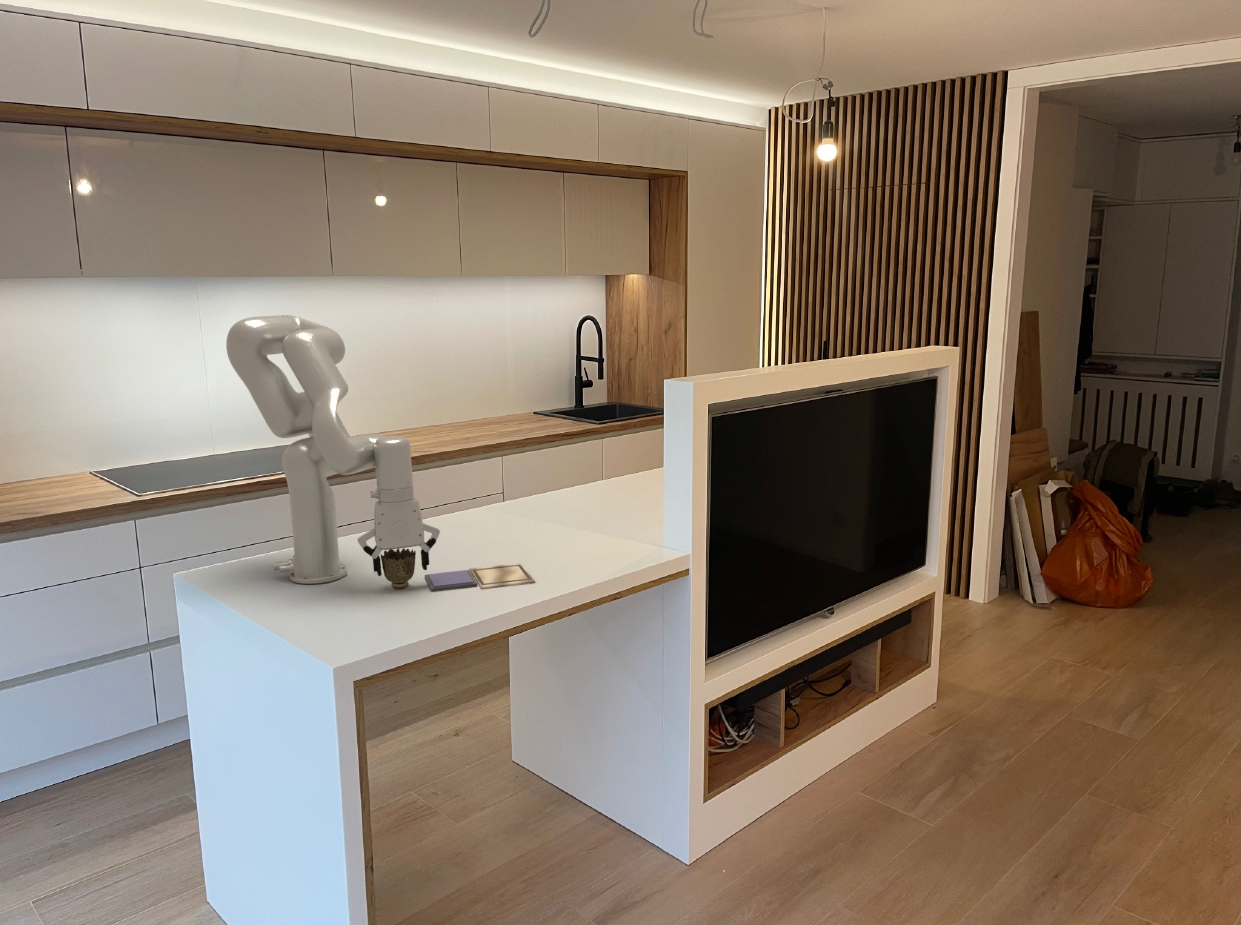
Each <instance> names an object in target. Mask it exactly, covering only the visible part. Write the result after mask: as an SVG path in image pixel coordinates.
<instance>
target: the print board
mask: <svg viewBox="0 0 1241 925" xmlns="http://www.w3.org/2000/svg"><path fill="white" fill-rule="evenodd" d="M468 570H469V571H470V573H471V574H472V576H473V578H474V579H475V581H476V582H477V585H478V586H479V587H480V589H481V590H485V589H484V588H487V589H493V588H503V586H504V587H512V586H519V585H520V586H521V585H528V584H527V583H530V584H536V580H535V579H534V578H533V576H532V575H531V574H530V573H529V571H528V570H527V569H526V568H525V567H524V565H523V564H522V563H521V562H517V563H516V562H515V563H507V564H500V565H490V566H489V565H488V566H481V567H472V568H468Z"/></svg>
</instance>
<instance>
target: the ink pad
mask: <svg viewBox="0 0 1241 925" xmlns="http://www.w3.org/2000/svg"><path fill="white" fill-rule="evenodd" d="M424 579H425V581H426V584H427V586H428V589H429V590H430V593H433V592H441V591H442V592H443V591H449V590H450V591H451V590H459V589H467V588H477V587H478V583H477V581H476V580H475V578H474V577H473V575H472V573H471V572H470V570H469V569H463V570H455V571H454V570H453V571H446V572H445V571H443V572H437V573H429V574H428V573H427V574H424ZM476 586H477V587H476Z"/></svg>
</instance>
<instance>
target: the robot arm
mask: <svg viewBox="0 0 1241 925" xmlns="http://www.w3.org/2000/svg"><path fill="white" fill-rule="evenodd" d="M225 345H226V354H227V357H228V360H229V362H230V363H229V364H231V367H232V368H233V370H234V371H235V373H236V374H237V376H238V377H239V378H240V380H241V381H242V382H243V384H244V385H245V387H246V389H247V390H248V392H249V394H250V396H251V397H252V400H253V401H254V403H255V405H256V407H257V408H258V410H259V412H260V414H261V416H262V418H263V419H264V420H263V421H265V424H266V425H267V427H268V429H269V430H270V431H271V432H272V433H273V435H274V436H276V437H277V438H280V439H291V438H296V437H299V436H304V435H308V436H309V437H305V438H301V439H298V440H295V441H294V442H292V443H290V444H289V445H288V446H287V447H286V448H285V449H284V451H283V454H282V459H281V463H282V469H283V473H284V476H285V477H284V478H285V480H286V484H287V487H288V494H289V505H290V515H291V528H292V529H291V530H292V541H293V552H294V553H293V555H292V558H291V559H290V558H289V559H288V560H287V561H286V560H285V561H283V560H282V561H281V560H280V561H273V569H274V570H273V571H279V573H281V572H282V573H284V572H288V578H289V580H290V582H291V581H292V582H293V583H297V584H306V585H307V584H309V585H310V584H311V585H312V584H313V585H315V584H323V583H329V582H333V581H336V580H339V579H342V578H343V577H345V576H346V575H347V573H348V569H347V566H346V565H345V564H342V563H340V554H339V551H340V550H339V540H338V538H339V536H338V527H337V526H338V525H337V524H338V522H337V508H336V499H335V494H334V492H333V489H332V487H331V485H330V483H329V482H328V480H327V478H328V477H329V478H330V477H331V476H334V475H338V474H339V475H342V476H350V475H354V474H358V473H360V472H363V471H367V470H372V469H374V468H375V469H374V470H375V478H376V489H375V490H373V491H370V498H373V499H376V500H377V501H375V504H374V510H373V511H374V513H373V515H374V516H373V528H372V529H371V530H369V531H367V532H366V533H364V534H363V535H361V536H360V537H358V538H357V543H358V544H359V546H360V547H361V549H362V550H363V551H364V553H366V554H367V555H369V556H370V557H371V558H372V565H373V567H372V568H373V572H375V573H377V576H378V577H381V576H382V561H381V556H380V555H381V554H382V551H387V550H388V551H389V550H390V549H393V550H397V549H398V548H399V549H403V548H405V549H406V548H407V549H408V548H413V547H419V548H421V550H420V560H421V568H422V569H423V570H424V571H427V570H428V567H427V566H430V553H429V552H430V551H431V549H432V548H433V547H434V545H435V544H436V543H437V540H438V538H439V536H440V534H441V531H440V529H439V528H437V527H434V526H432V525H429V524H426V523H424V522H423V515H422V510H421V505H420V501H419V499H418V498H417V497H415V492H414V491H415V490H414V480H413V479H414V478H413V466H412V464H413V463H412V452H411V443H410V440H409V439H408V438H407V437H405V436H402V435H401V436H400V435H393V436H391V435H390V436H386V435H382V434H377V433H373V432H372V433H364V434H360V435H354V436H352V437H351V436H350V434H349V432H348V430H347V428H346V426H345V425H344V423H343V421H342V420H341V417H340V416H339V413H338V412H337V409H338V404H339V403H340V402H341V401H342V400H343V399H344V398H345V397H346V396H347V394H348V392H349V386H348V383H347V381H346V380H345V379H344V377H343V375H342V374H341V372H340V369H338V366H337V365H338V364H339V363H340V362H342V360H343V359H344V357H345V355H346V354H345V353H346V347H345V346H346V345H345V342H344V340H343V339H342V337H341V335H340V334H339V333H338V332H336V330H334V329H332V328H330V327H328V326H325V325H322V324H319V323H317V322H314V321H310V320H307V319H305V318H301V317H298V316H296V315H288V314H279V315H262V316H252V317H246V318H243V319H240V320H238V321H237V322H235V323H234V324H233V325H232V326H231V327H230V329H229V330H228V333H227V336H226V344H225ZM280 354H283V357H284V358H285V360H286V363H287V364H288V366H289V368H290V369H291V371H292V372H293V374H294V376H295V378H296V379H297V381H298V382H299V384H300V386H301V388H302V390H303V391H301V392H298V391H296V389H294V387H293V385H291V383H290V381H289V379H288V377H287V375H286V374H285V373H284V371H283V370H282V369H281V368H280V367H279V366H278V365H276V364H275V362H273V361H272V360H270V359H269V358H268V355H269V356H270V355H271V356H272V355H280ZM424 531H425V532H428V533H430V534H431V536H430V537H429V539H427V541H425V532H424ZM372 538H374V541H375V546H374V547H373V548H372V547H371V546H369V545H368V543H367V541H368V540H370V539H372ZM423 570H422V571H423Z"/></svg>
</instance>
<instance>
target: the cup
mask: <svg viewBox="0 0 1241 925" xmlns="http://www.w3.org/2000/svg"><path fill="white" fill-rule="evenodd" d="M416 553H417V552H416V550H414V549H411V550H410V549H409V548H407V549H406V548H401V551H400V548H398V549H390V550H388V551H387V550H383V554H382V553H380V562H381V567H382V571H383V575H384V577H385V579H386V580H387V581H388V582H390V583H391V584H390V586H391V588H392V589H393V590H397V591H399V590H400V591H402V590H405V589H407V588H408V587H409V581H411V579H412V578H413V577H414V574H415V569H416V555H417V554H416Z"/></svg>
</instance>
